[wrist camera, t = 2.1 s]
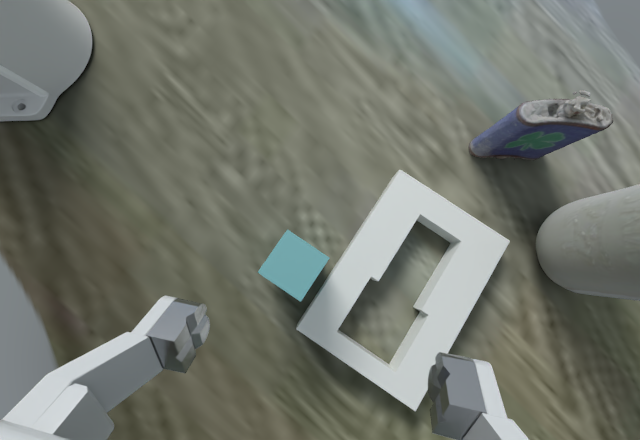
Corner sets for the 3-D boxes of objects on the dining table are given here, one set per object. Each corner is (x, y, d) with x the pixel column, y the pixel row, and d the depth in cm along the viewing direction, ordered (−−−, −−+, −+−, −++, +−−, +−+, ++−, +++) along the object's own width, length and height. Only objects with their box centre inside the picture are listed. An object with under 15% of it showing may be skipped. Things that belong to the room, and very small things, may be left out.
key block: (302, 290, 33) (300, 301, 23) (271, 270, 33) (257, 272, 23) (322, 260, 33) (329, 257, 23) (292, 240, 34) (287, 229, 24)
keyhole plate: (407, 400, 32) (415, 411, 29) (296, 324, 32) (296, 329, 30) (495, 242, 35) (510, 240, 32) (393, 175, 35) (400, 169, 33)
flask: (467, 158, 36) (535, 113, 25) (466, 135, 36) (533, 81, 26) (542, 162, 36) (639, 119, 26) (540, 139, 37) (634, 87, 26)
